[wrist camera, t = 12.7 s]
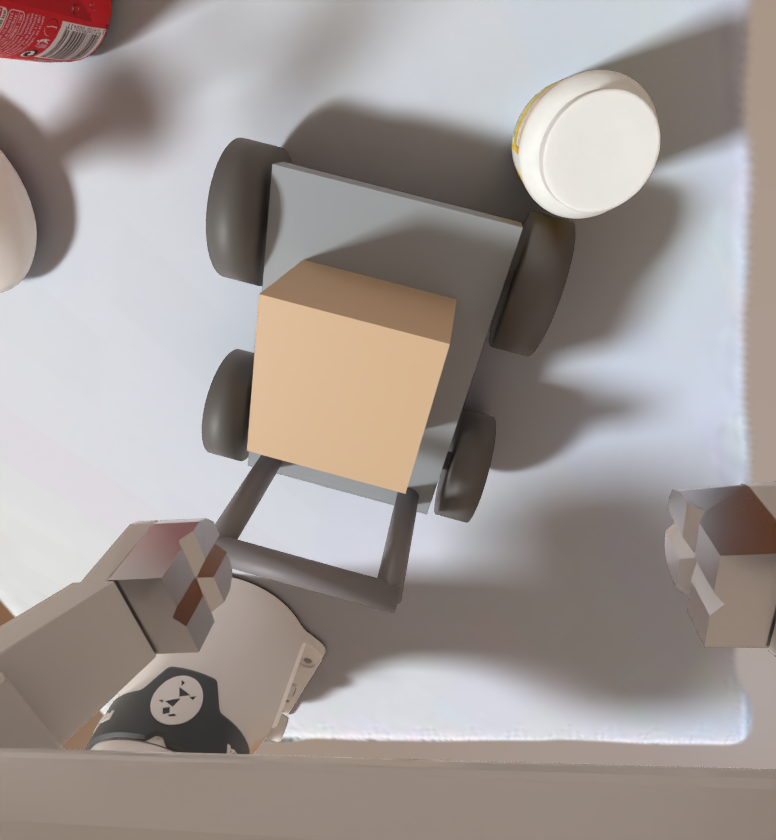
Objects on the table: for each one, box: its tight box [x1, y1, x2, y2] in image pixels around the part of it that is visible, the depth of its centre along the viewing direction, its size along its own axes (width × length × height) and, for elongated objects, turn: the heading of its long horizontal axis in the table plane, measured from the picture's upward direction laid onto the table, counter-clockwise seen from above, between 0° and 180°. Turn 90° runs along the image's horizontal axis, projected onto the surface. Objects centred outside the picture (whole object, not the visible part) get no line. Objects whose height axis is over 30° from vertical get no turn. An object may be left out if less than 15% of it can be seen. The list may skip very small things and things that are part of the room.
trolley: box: [202, 138, 575, 613], centre depth 27 cm, size 19×17×14 cm
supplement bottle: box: [512, 70, 661, 219], centre depth 22 cm, size 5×5×10 cm
